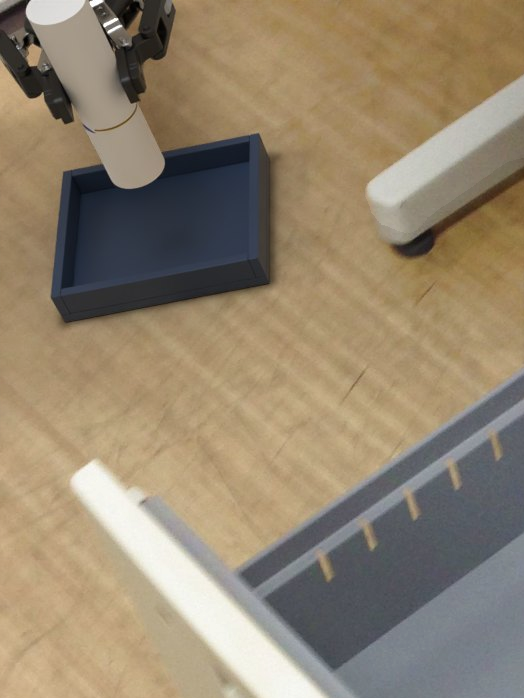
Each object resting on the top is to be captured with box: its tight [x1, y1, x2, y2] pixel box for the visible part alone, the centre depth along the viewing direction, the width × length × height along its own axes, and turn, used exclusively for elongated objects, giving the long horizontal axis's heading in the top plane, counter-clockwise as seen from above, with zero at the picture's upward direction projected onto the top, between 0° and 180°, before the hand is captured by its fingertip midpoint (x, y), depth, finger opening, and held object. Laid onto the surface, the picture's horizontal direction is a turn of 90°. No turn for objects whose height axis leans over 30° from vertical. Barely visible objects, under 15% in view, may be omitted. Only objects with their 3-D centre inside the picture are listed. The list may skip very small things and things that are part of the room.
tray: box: [50, 132, 271, 323], centre depth 144 cm, size 17×15×3 cm
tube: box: [25, 0, 165, 189], centre depth 130 cm, size 4×4×15 cm
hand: (97, 102), depth 128 cm, fingers closed on tube, 4 cm apart
